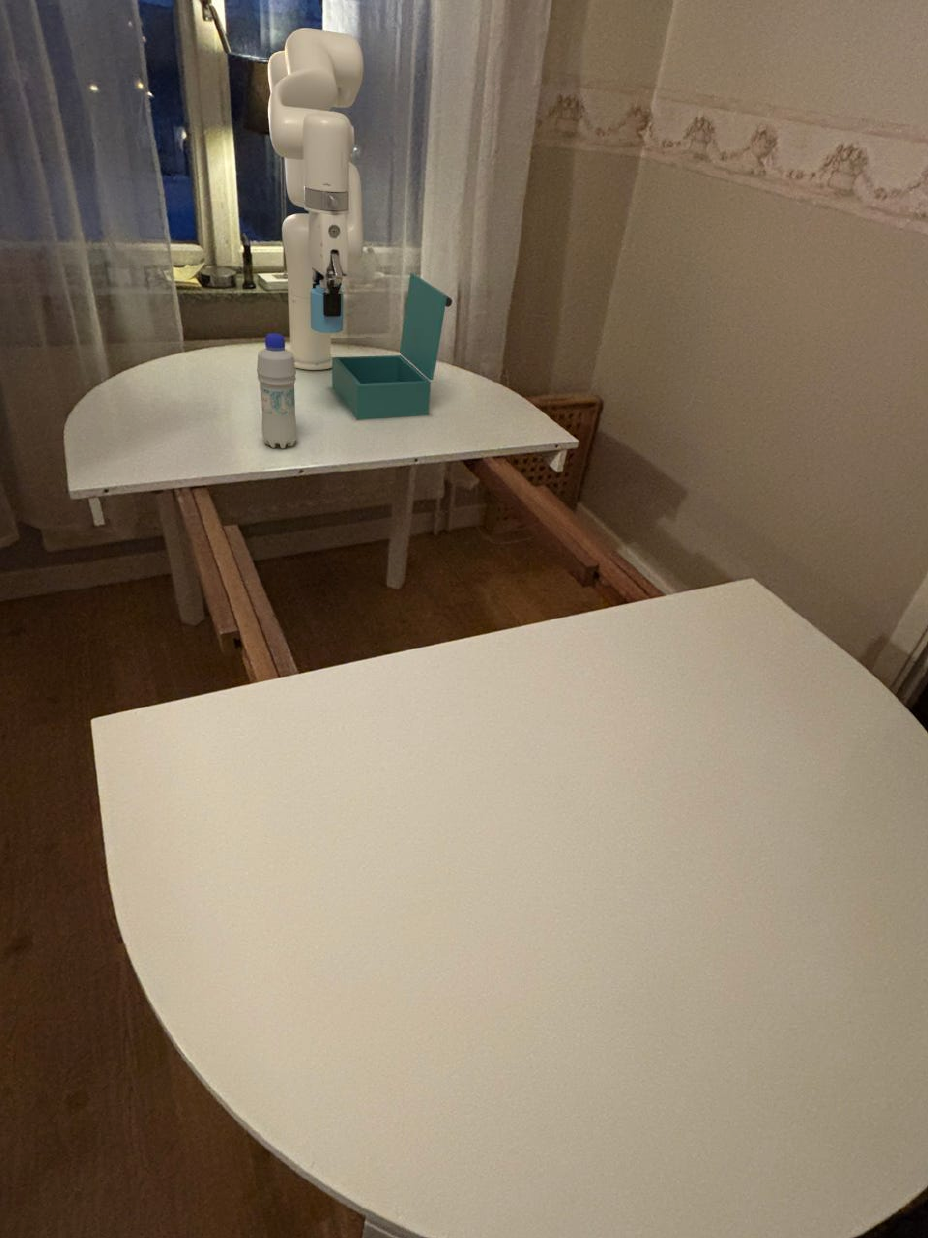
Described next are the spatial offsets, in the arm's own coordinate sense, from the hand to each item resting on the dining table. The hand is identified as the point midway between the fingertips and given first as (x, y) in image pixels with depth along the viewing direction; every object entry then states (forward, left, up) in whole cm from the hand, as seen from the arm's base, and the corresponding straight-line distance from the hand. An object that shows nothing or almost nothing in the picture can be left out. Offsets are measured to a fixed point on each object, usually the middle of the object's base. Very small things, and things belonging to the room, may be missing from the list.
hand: (326, 309), depth 137 cm
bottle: (+9, -12, -22) cm, 26 cm away
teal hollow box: (-9, +14, -21) cm, 27 cm away
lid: (-9, +23, -6) cm, 25 cm away
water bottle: (0, 0, -3) cm, 3 cm away
